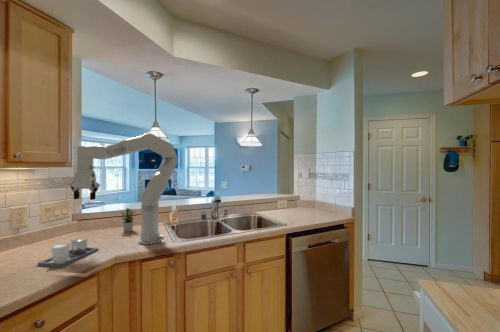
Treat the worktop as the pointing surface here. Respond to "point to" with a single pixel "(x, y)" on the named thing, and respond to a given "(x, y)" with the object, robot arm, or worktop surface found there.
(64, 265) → the divided tray
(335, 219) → the worktop surface
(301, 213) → the worktop surface
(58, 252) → the white cylinder
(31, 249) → the worktop surface
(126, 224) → the house plant
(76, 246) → the block
